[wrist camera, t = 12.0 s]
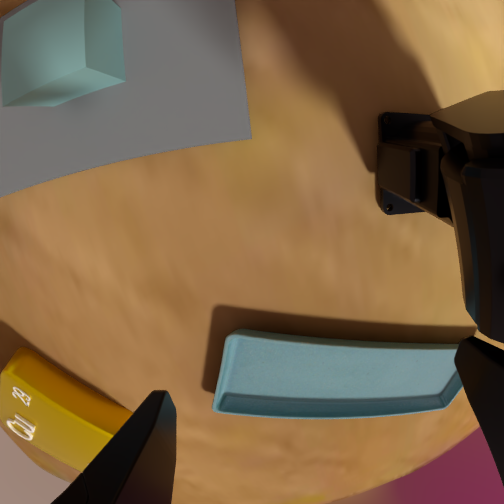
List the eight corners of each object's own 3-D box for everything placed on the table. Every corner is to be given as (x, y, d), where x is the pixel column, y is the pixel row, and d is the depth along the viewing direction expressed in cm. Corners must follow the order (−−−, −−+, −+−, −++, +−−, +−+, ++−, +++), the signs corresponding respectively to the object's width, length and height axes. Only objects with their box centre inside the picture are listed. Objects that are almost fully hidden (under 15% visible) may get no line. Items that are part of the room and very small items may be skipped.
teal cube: (121, 8, 12) (85, -24, 7) (126, 81, 14) (85, 67, 9) (50, 37, 12) (3, 21, 7) (53, 106, 14) (2, 106, 9)
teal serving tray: (211, 395, 25) (210, 417, 22) (227, 315, 21) (226, 336, 19) (437, 395, 28) (446, 409, 26) (477, 334, 25) (489, 348, 22)
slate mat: (226, -57, 11) (225, -64, 10) (250, 138, 16) (251, 138, 15) (-5, 28, 11) (-12, 26, 10) (6, 194, 16) (-2, 197, 15)
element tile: (106, 456, 30) (98, 484, 26) (10, 399, 26) (-4, 424, 22) (148, 415, 26) (140, 453, 22) (20, 336, 22) (-3, 368, 17)
